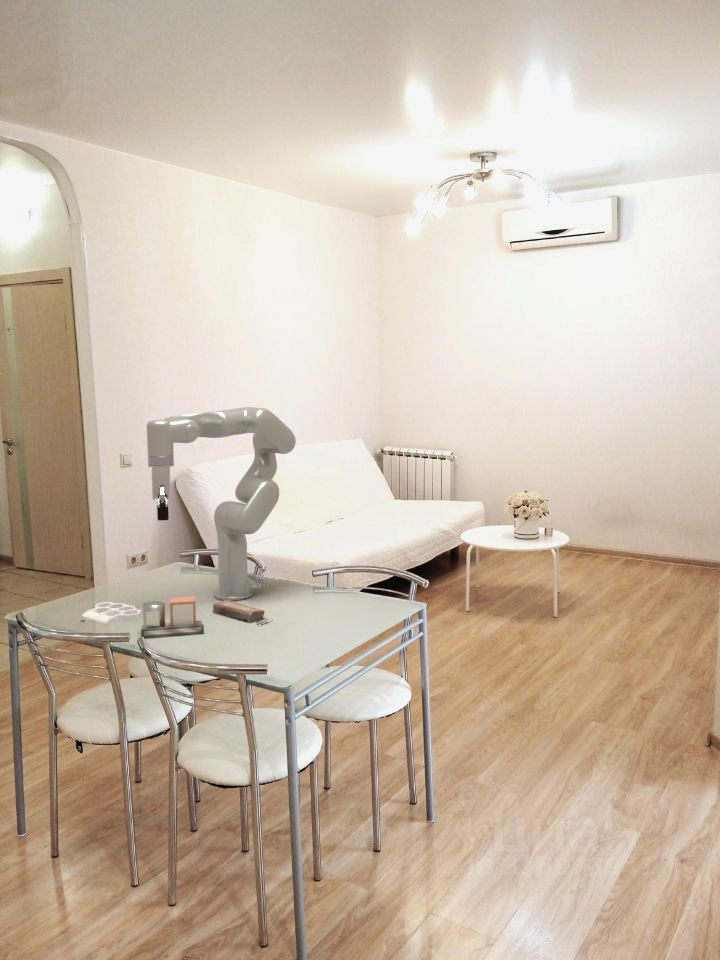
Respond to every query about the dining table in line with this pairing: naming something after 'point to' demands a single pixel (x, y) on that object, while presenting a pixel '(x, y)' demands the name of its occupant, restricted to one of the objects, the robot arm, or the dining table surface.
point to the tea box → (182, 611)
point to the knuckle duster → (111, 613)
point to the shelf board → (173, 630)
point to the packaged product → (239, 612)
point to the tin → (153, 614)
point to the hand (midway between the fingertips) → (162, 517)
